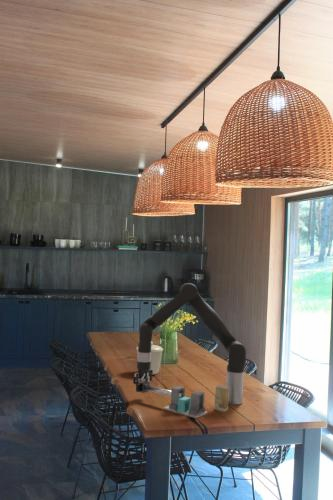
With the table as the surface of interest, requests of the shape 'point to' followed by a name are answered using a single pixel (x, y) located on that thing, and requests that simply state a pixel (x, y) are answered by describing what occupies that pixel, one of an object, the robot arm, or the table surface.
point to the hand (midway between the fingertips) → (142, 390)
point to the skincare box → (221, 398)
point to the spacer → (183, 403)
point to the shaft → (154, 389)
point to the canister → (155, 357)
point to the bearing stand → (196, 403)
